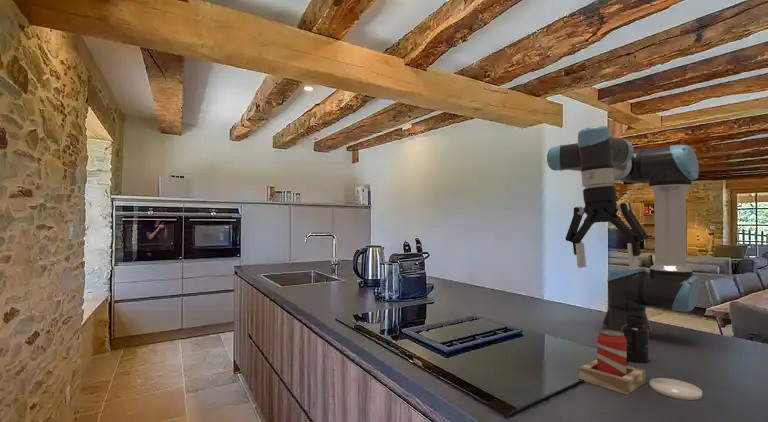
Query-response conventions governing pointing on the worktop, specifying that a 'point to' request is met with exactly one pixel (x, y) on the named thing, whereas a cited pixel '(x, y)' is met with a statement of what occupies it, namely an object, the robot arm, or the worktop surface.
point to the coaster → (676, 388)
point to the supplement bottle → (636, 338)
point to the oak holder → (612, 378)
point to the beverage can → (612, 353)
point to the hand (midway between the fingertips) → (606, 268)
